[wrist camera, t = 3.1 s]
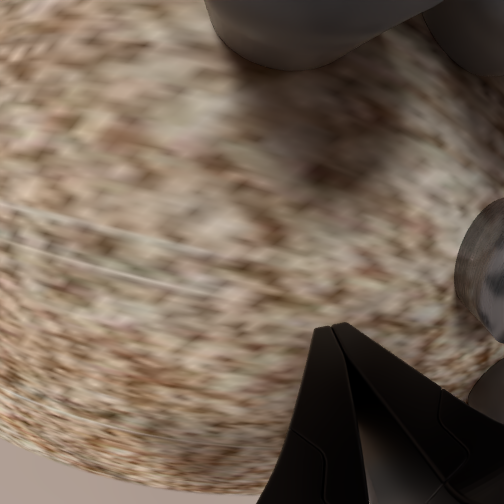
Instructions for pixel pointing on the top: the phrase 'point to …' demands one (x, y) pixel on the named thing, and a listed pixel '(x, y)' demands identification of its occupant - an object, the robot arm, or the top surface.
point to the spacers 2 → (475, 404)
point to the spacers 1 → (356, 29)
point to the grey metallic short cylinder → (484, 269)
